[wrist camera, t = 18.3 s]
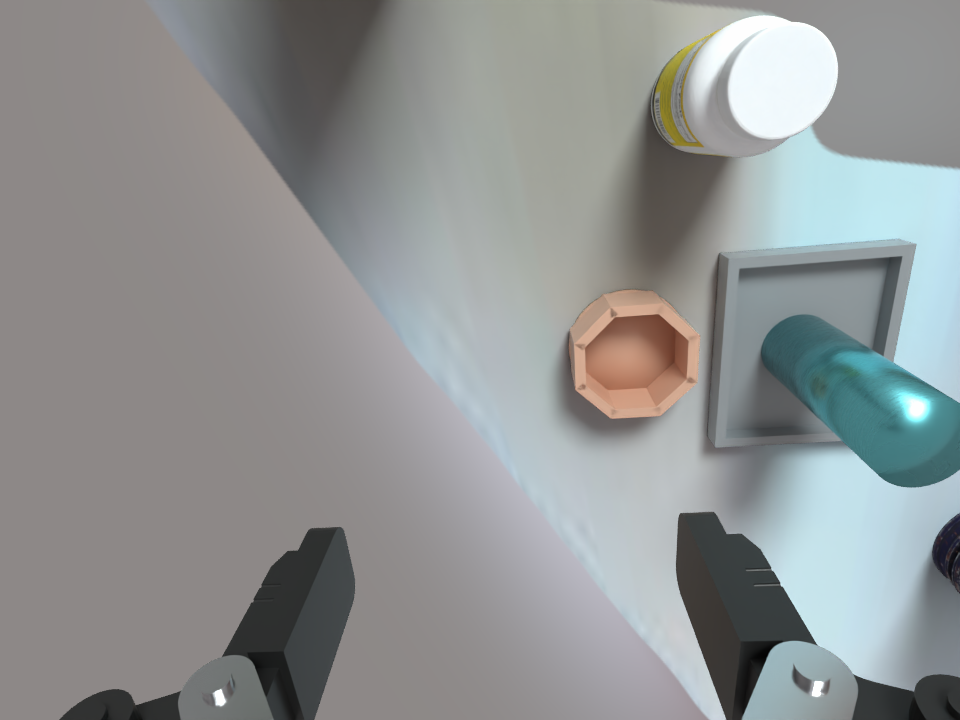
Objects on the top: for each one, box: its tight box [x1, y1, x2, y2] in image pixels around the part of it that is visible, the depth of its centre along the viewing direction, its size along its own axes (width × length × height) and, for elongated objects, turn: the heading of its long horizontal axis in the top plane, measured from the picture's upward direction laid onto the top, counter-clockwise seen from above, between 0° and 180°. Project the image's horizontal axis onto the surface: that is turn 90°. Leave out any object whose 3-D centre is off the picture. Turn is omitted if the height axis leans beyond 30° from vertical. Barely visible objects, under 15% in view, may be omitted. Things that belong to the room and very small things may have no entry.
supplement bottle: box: [651, 16, 838, 157], centre depth 33 cm, size 7×7×13 cm
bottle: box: [761, 314, 960, 487], centre depth 38 cm, size 6×6×15 cm
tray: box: [707, 239, 916, 448], centre depth 45 cm, size 16×13×2 cm
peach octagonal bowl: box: [569, 289, 700, 419], centre depth 45 cm, size 9×9×4 cm
